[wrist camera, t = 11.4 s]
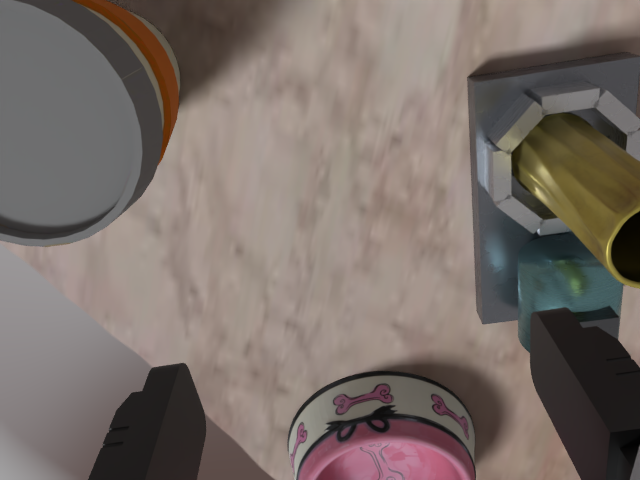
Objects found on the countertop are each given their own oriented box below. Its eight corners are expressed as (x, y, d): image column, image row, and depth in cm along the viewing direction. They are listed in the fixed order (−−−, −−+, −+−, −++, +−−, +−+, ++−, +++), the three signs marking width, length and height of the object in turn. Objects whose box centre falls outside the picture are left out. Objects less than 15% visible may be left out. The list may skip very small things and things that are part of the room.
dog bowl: (453, 348, 51) (471, 402, 45) (489, 486, 59) (508, 547, 53) (261, 395, 54) (254, 452, 47) (320, 521, 61) (320, 583, 55)
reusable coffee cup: (2, 104, 41) (-153, 175, 28) (63, -64, 36) (-90, -76, 23) (161, 188, 44) (91, 290, 30) (236, 44, 39) (192, 89, 26)
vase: (494, 148, 40) (574, 237, 28) (571, 93, 39) (696, 161, 26) (537, 209, 42) (630, 318, 30) (612, 160, 41) (745, 252, 28)
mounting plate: (467, 77, 40) (509, 111, 31) (626, 52, 39) (718, 80, 30) (476, 310, 49) (512, 391, 40) (606, 294, 48) (673, 372, 39)
